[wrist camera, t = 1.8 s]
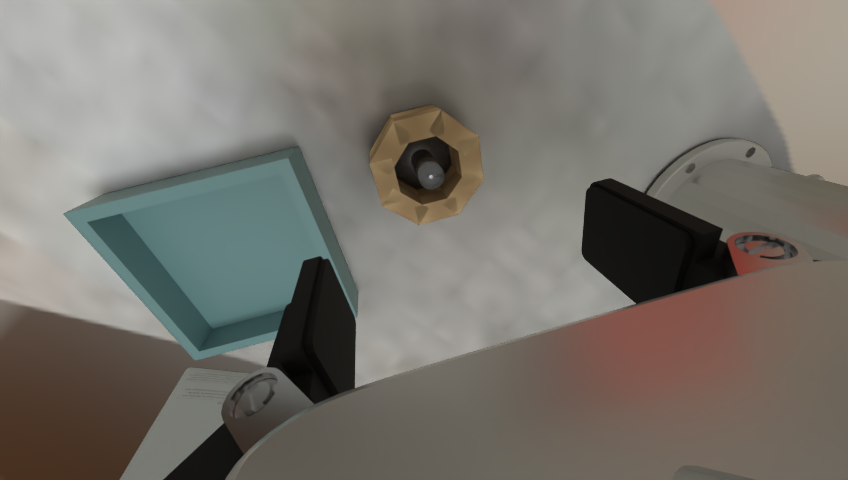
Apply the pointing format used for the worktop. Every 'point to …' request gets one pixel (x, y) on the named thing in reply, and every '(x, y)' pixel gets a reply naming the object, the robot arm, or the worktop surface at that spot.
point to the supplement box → (183, 422)
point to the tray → (217, 247)
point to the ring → (457, 179)
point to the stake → (424, 163)
